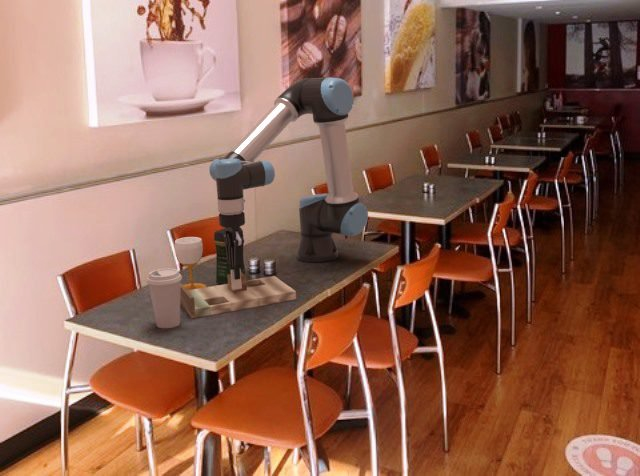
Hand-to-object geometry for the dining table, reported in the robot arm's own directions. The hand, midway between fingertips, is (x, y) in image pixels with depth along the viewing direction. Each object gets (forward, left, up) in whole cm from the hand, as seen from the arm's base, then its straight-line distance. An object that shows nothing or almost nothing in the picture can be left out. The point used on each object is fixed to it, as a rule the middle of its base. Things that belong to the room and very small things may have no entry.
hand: (236, 288), depth 205 cm
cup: (+9, -19, -4) cm, 21 cm away
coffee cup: (+23, +9, -4) cm, 25 cm away
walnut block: (-1, -3, -1) cm, 3 cm away
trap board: (0, -1, -4) cm, 4 cm away
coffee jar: (-4, -18, -4) cm, 19 cm away
